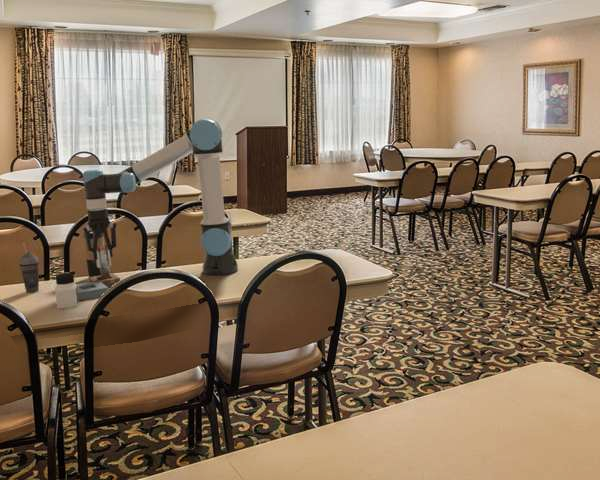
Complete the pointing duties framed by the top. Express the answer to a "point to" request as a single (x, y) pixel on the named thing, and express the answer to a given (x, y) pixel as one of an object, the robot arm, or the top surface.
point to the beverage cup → (30, 271)
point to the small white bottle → (103, 260)
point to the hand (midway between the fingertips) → (104, 266)
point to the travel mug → (92, 263)
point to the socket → (90, 290)
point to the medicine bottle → (66, 291)
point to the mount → (105, 279)
